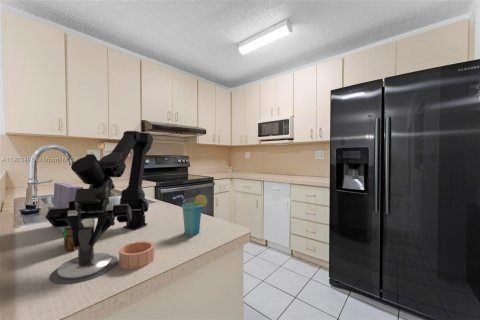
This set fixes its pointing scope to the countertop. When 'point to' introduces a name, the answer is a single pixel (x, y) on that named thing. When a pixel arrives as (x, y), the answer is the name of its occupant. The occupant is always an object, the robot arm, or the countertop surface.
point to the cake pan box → (65, 197)
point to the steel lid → (84, 259)
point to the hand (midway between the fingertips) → (83, 246)
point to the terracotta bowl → (136, 254)
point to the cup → (192, 214)
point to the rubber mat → (57, 280)
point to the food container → (69, 235)
